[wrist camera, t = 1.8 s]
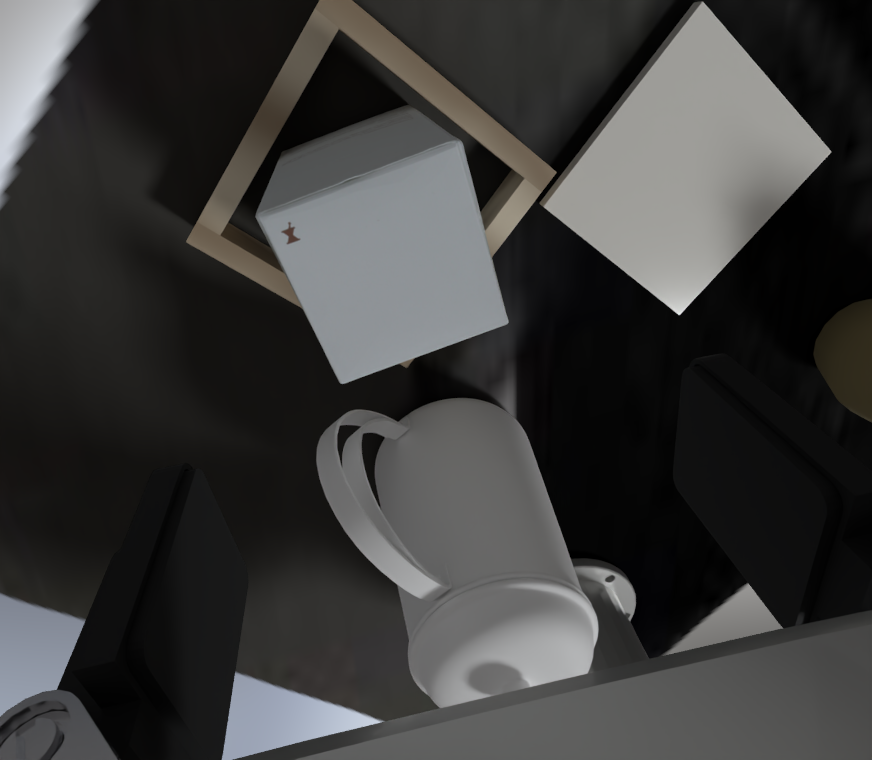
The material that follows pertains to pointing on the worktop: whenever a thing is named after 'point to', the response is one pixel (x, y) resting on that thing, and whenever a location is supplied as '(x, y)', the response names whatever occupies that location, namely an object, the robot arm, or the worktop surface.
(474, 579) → the coffeepot
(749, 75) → the tile
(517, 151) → the wooden frame
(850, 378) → the squeeze bottle
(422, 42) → the worktop surface
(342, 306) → the supplement box
